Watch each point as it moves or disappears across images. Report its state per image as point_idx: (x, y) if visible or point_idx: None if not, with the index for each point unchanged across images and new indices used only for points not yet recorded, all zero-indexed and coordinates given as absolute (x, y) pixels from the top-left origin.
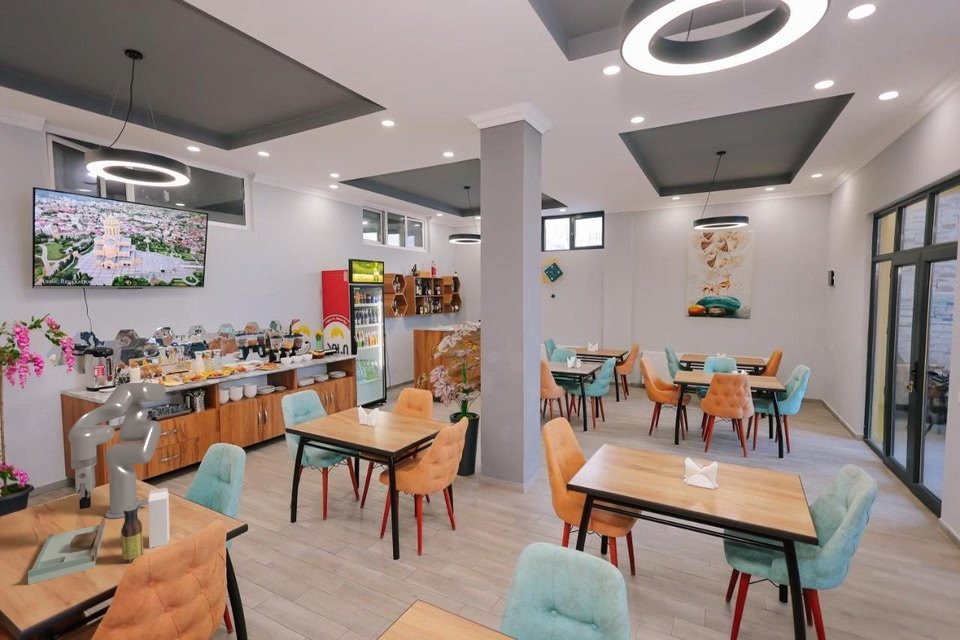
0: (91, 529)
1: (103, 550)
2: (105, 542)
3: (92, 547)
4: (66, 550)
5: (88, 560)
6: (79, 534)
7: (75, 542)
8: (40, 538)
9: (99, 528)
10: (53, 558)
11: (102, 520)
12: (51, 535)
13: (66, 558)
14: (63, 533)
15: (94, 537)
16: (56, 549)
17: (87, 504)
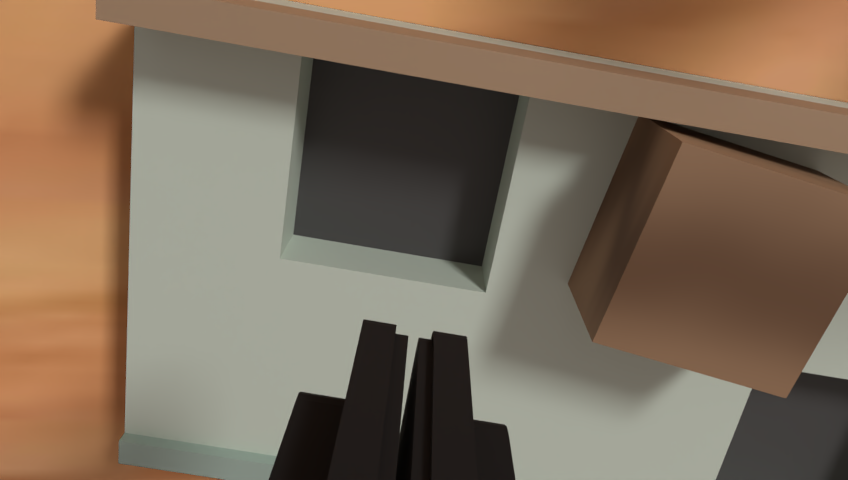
0: (225, 131)
1: (760, 44)
2: (558, 9)
3: (785, 157)
4: (632, 356)
5: None
6: (618, 309)
7: (806, 349)
8: (19, 465)
9: (466, 76)
10: (722, 442)
11: (182, 18)
12: (158, 451)
13: (830, 363)
14: (149, 361)
15: (726, 149)
16: (528, 419)
17: (482, 433)
